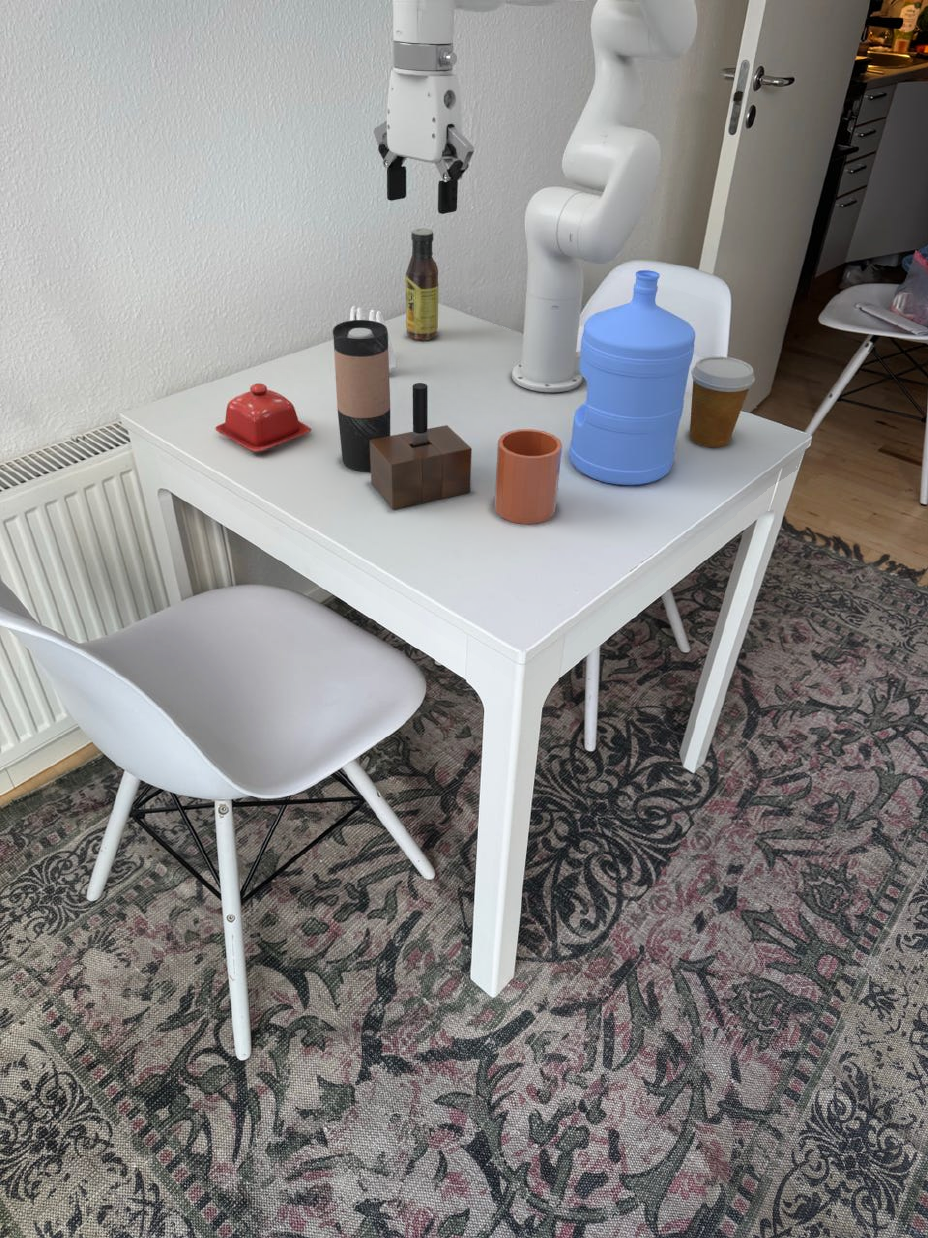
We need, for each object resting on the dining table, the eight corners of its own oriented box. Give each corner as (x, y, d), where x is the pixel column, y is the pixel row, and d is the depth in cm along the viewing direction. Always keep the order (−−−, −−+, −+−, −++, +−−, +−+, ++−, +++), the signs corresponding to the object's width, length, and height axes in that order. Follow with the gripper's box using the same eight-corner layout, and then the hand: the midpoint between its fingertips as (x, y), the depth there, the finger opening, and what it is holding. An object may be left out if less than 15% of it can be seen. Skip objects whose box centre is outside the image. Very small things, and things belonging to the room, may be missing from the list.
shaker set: (399, 376, 159) (398, 314, 152) (379, 381, 157) (377, 319, 150) (364, 355, 167) (362, 295, 160) (345, 359, 165) (341, 299, 158)
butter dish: (316, 436, 139) (312, 385, 134) (256, 460, 133) (249, 407, 127) (271, 413, 146) (265, 363, 140) (211, 435, 139) (203, 384, 134)
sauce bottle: (405, 330, 177) (404, 225, 165) (436, 330, 178) (437, 225, 166) (406, 342, 172) (405, 234, 160) (438, 342, 173) (439, 234, 161)
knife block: (446, 468, 132) (446, 424, 128) (470, 492, 127) (471, 448, 123) (371, 484, 128) (369, 439, 124) (392, 510, 122) (391, 464, 118)
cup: (535, 488, 128) (541, 424, 122) (566, 516, 122) (573, 450, 116) (484, 500, 125) (487, 435, 119) (512, 529, 119) (517, 462, 113)
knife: (424, 483, 129) (424, 381, 119) (430, 489, 127) (430, 387, 118) (410, 486, 128) (409, 384, 118) (416, 493, 126) (415, 389, 117)
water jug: (691, 464, 135) (730, 275, 118) (630, 499, 126) (662, 300, 109) (610, 430, 144) (634, 250, 127) (547, 461, 135) (565, 271, 118)
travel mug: (399, 453, 136) (397, 323, 123) (379, 476, 130) (374, 342, 118) (353, 445, 137) (346, 316, 125) (332, 467, 132) (322, 334, 119)
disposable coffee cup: (744, 433, 144) (761, 361, 137) (732, 457, 138) (750, 383, 130) (687, 421, 147) (700, 350, 140) (672, 444, 141) (686, 371, 133)
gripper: (494, 64, 110) (486, 213, 120) (396, 51, 119) (396, 190, 129) (453, 67, 105) (449, 221, 116) (354, 53, 114) (358, 197, 124)
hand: (421, 205), depth 122 cm, fingers open, 9 cm apart
